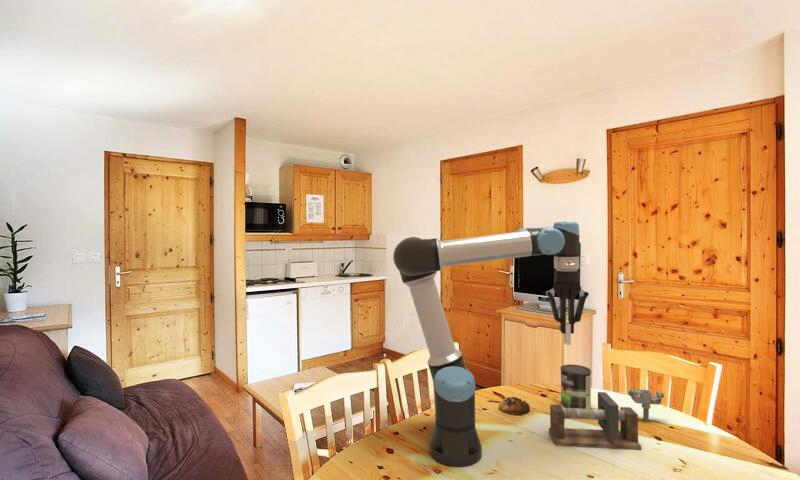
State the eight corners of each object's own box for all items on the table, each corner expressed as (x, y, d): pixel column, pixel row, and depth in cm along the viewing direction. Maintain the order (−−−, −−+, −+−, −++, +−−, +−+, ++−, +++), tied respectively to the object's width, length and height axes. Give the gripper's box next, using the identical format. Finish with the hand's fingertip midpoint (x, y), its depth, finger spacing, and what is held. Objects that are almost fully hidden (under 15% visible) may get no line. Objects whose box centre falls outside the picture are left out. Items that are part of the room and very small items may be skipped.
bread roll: (535, 414, 144) (532, 400, 144) (504, 420, 143) (502, 406, 143) (523, 402, 155) (521, 389, 155) (495, 408, 154) (493, 394, 154)
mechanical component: (664, 423, 136) (664, 393, 135) (630, 421, 138) (630, 391, 137) (660, 419, 138) (660, 390, 138) (627, 417, 141) (627, 388, 140)
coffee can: (574, 415, 143) (573, 375, 143) (554, 403, 153) (554, 366, 153) (598, 411, 146) (597, 371, 146) (577, 399, 156) (577, 363, 156)
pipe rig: (556, 445, 123) (555, 413, 123) (548, 431, 132) (548, 401, 132) (641, 449, 120) (641, 416, 120) (627, 434, 129) (627, 403, 129)
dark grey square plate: (610, 439, 120) (609, 405, 120) (597, 423, 130) (597, 392, 130) (618, 439, 120) (618, 405, 120) (605, 423, 130) (605, 392, 130)
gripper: (548, 271, 128) (548, 346, 128) (592, 270, 126) (592, 347, 126) (542, 268, 135) (543, 340, 136) (584, 268, 134) (584, 340, 134)
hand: (567, 343), depth 131 cm, fingers closed
